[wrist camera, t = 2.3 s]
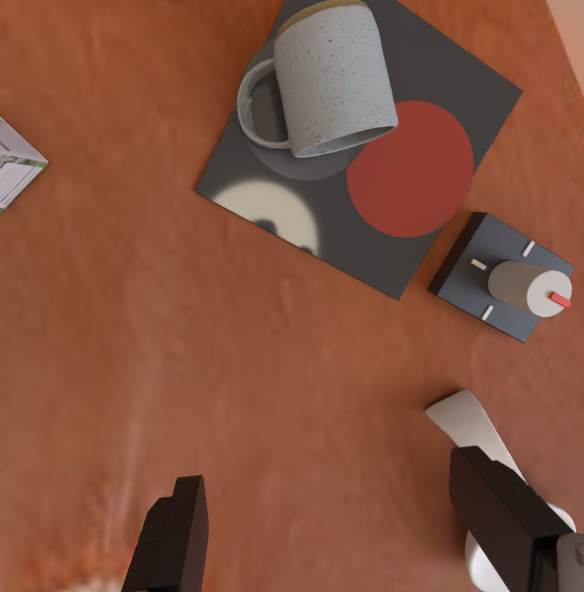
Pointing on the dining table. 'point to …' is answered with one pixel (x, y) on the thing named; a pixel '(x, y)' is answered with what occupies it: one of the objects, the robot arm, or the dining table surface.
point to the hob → (369, 156)
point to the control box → (478, 266)
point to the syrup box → (16, 164)
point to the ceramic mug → (326, 80)
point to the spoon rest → (480, 431)
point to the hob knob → (530, 288)
